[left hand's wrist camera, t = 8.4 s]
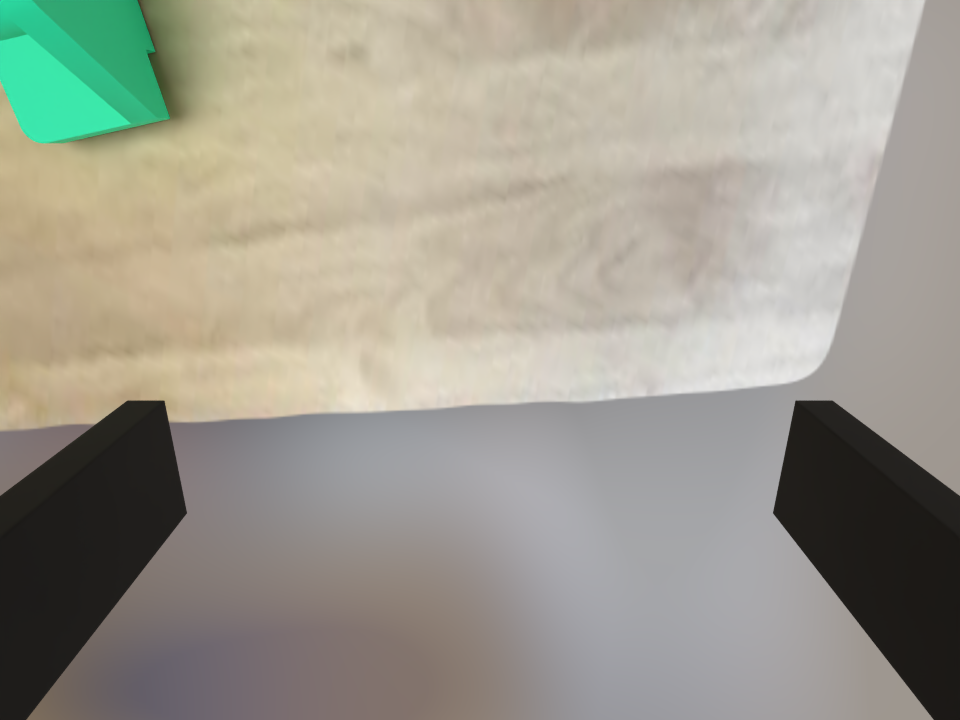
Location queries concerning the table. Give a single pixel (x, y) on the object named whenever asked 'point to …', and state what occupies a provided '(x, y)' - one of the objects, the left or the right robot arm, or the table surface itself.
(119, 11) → the camera mount
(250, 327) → the table surface
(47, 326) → the table surface
